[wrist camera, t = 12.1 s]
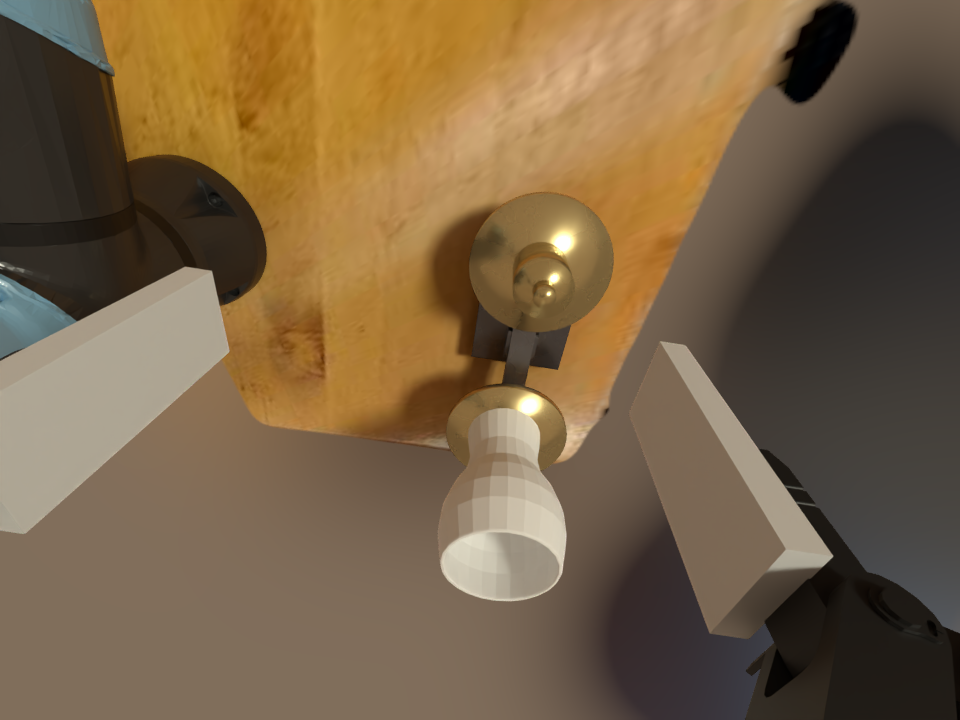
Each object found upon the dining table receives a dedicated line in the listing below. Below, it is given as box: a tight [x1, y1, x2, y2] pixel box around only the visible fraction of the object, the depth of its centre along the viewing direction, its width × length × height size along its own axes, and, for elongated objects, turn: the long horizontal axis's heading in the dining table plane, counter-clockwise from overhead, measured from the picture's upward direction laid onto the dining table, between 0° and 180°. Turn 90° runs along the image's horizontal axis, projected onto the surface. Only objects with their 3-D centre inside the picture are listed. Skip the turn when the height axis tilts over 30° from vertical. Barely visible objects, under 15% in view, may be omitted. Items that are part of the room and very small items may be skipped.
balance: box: [446, 192, 614, 471], centre depth 42 cm, size 13×31×12 cm, turn 172°
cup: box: [437, 408, 566, 601], centre depth 38 cm, size 11×11×15 cm
